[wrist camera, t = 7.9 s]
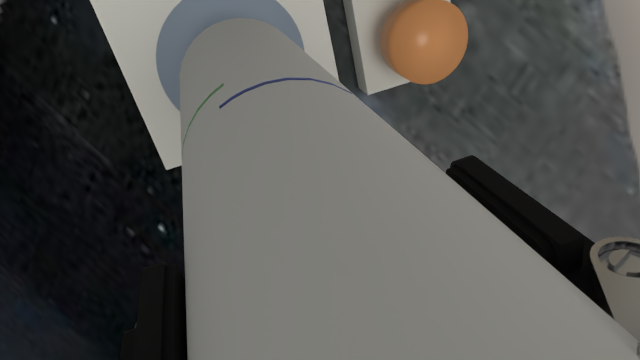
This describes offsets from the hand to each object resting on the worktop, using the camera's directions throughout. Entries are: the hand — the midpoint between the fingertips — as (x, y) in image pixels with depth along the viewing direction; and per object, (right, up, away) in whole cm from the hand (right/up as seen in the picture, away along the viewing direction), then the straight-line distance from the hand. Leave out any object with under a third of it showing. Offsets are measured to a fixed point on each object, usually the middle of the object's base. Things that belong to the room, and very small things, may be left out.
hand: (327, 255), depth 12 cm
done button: (+6, +11, +19) cm, 23 cm away
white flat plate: (-6, +10, +20) cm, 23 cm away
